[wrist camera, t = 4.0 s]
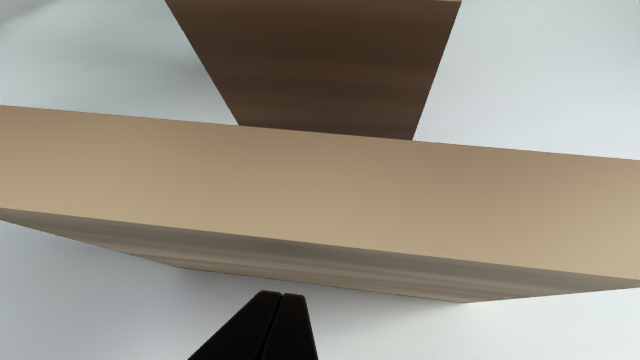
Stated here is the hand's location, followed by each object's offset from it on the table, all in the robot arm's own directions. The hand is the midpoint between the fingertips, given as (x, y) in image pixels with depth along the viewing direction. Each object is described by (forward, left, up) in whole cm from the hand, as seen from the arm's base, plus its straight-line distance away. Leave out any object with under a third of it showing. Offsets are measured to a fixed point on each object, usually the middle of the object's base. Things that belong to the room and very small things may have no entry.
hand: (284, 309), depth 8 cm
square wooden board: (+2, +1, -7) cm, 7 cm away
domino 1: (+5, +2, -7) cm, 9 cm away
